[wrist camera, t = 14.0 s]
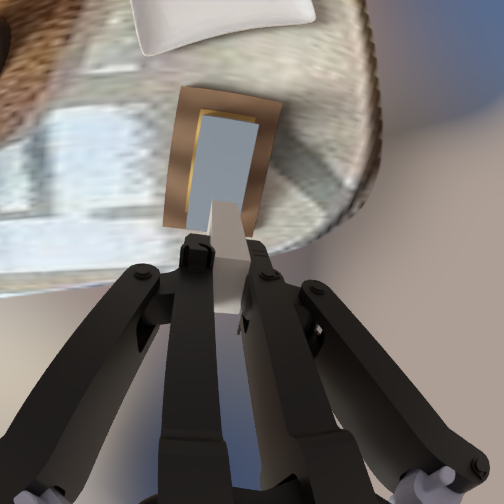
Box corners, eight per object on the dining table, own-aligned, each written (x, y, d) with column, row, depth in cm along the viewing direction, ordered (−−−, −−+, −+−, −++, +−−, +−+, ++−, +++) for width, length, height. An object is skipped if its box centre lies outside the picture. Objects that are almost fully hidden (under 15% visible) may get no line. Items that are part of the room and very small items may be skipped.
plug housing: (232, 214, 36) (236, 235, 30) (190, 209, 34) (185, 229, 29) (251, 121, 30) (259, 124, 25) (204, 114, 29) (202, 115, 24)
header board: (183, 87, 29) (177, 83, 24) (278, 103, 31) (290, 102, 26) (165, 220, 37) (157, 239, 32) (250, 231, 39) (255, 250, 34)
